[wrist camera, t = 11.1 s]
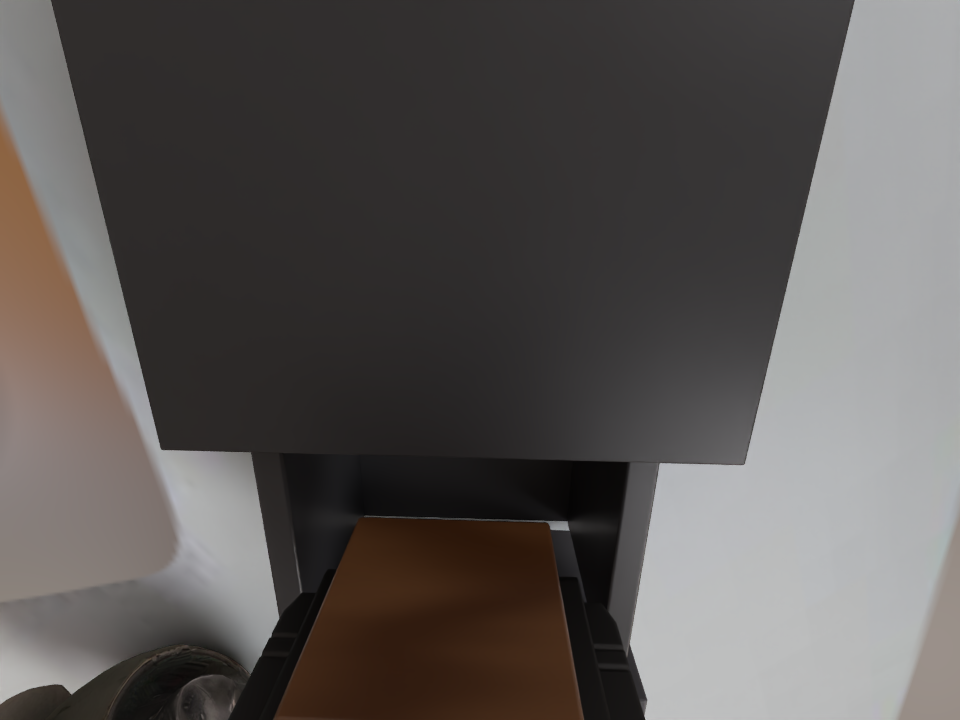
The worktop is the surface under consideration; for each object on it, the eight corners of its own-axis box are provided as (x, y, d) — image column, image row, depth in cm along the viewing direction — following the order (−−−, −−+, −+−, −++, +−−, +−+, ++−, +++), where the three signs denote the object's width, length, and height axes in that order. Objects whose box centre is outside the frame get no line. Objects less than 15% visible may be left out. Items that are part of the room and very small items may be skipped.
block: (549, 520, 10) (588, 734, 6) (538, 660, 12) (563, 910, 8) (358, 515, 10) (269, 721, 6) (370, 654, 12) (304, 898, 8)
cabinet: (625, 342, 18) (745, 465, 10) (314, 335, 18) (160, 451, 10) (689, -173, 13) (1068, -893, 4) (259, -173, 13) (-163, -860, 5)
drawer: (583, 620, 22) (626, 812, 15) (349, 612, 22) (285, 798, 15) (631, 217, 16) (740, 228, 9) (308, 212, 16) (168, 218, 9)
